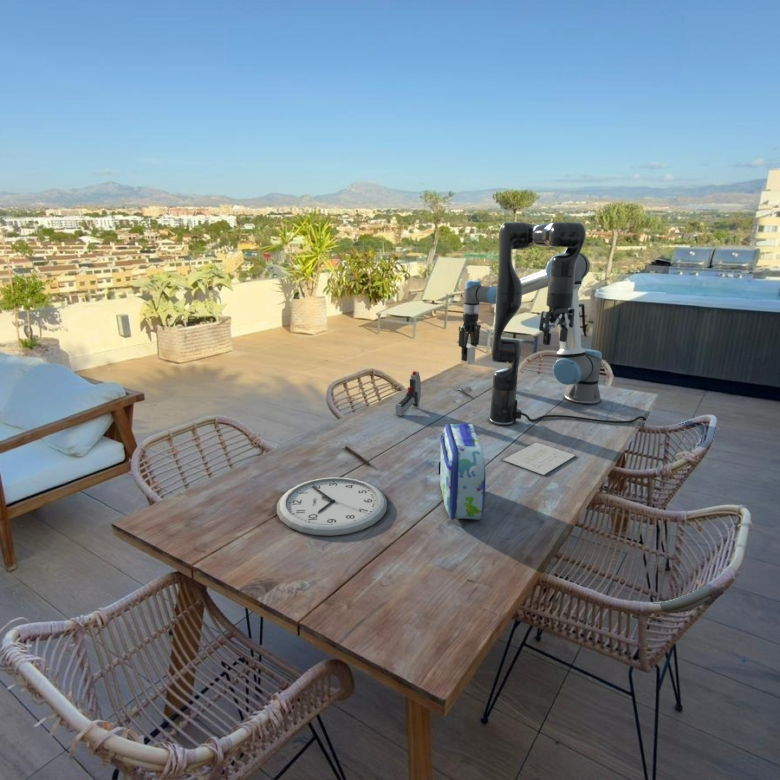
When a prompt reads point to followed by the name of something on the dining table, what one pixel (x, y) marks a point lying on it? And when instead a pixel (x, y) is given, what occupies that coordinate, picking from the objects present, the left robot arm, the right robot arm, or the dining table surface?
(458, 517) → the lunch box
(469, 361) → the block
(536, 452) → the invitation card
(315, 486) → the wall clock
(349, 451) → the dark brown rod
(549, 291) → the left robot arm
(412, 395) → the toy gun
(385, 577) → the dining table surface
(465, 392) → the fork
